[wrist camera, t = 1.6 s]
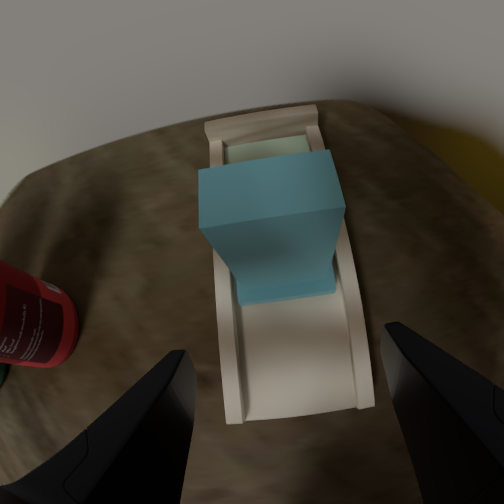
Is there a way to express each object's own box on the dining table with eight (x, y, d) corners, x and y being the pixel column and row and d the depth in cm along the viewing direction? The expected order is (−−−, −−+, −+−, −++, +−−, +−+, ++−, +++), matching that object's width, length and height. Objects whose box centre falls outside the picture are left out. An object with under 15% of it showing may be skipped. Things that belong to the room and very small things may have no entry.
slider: (334, 293, 19) (365, 225, 9) (241, 306, 19) (185, 251, 10) (324, 235, 20) (337, 133, 11) (236, 248, 21) (186, 157, 12)
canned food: (23, 302, 24) (-60, 268, 14) (75, 275, 24) (-16, 225, 14) (33, 375, 21) (-60, 361, 11) (89, 358, 21) (-19, 339, 11)
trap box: (367, 402, 17) (381, 409, 14) (233, 418, 18) (220, 428, 15) (315, 132, 25) (315, 104, 22) (215, 148, 26) (204, 122, 23)
